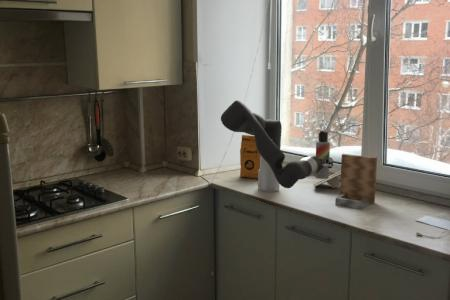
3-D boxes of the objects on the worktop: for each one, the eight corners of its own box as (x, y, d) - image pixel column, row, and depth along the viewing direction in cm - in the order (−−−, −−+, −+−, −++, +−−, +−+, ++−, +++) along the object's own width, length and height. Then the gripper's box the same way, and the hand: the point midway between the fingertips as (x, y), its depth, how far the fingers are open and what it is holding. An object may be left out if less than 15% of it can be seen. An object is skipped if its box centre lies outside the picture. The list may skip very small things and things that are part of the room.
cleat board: (331, 204, 227) (333, 158, 223) (341, 197, 237) (343, 153, 233) (365, 209, 219) (368, 162, 215) (374, 202, 229) (377, 157, 225)
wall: (324, 201, 245) (350, 181, 242) (312, 186, 246) (338, 166, 243) (324, 197, 261) (348, 178, 259) (313, 183, 262) (337, 164, 259)
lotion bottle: (313, 176, 226) (314, 129, 222) (326, 175, 226) (328, 129, 223) (317, 179, 220) (318, 131, 217) (330, 178, 221) (332, 131, 217)
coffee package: (259, 180, 267) (260, 137, 263) (237, 178, 272) (237, 135, 268) (266, 176, 276) (267, 134, 271) (245, 173, 281) (245, 133, 277)
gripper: (291, 173, 214) (308, 165, 228) (325, 178, 207) (340, 169, 221) (292, 155, 213) (309, 148, 227) (325, 159, 205) (341, 152, 219)
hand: (324, 159), depth 224 cm, fingers closed on lotion bottle, 5 cm apart
